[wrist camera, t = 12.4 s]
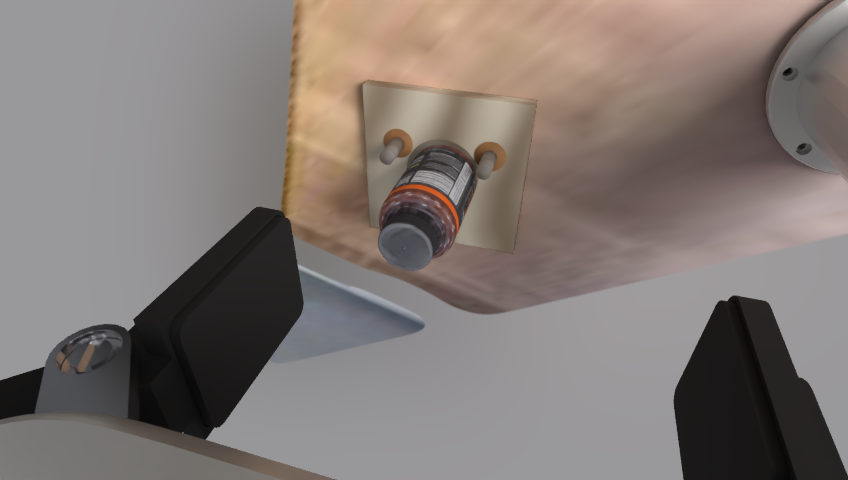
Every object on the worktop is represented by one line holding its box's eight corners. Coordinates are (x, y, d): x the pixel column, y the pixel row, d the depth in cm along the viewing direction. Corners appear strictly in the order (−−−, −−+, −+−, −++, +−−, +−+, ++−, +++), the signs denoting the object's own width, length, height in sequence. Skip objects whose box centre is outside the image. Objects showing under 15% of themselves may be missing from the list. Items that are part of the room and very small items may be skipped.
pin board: (537, 100, 39) (531, 120, 35) (514, 246, 47) (507, 273, 43) (368, 80, 42) (347, 96, 38) (374, 220, 50) (358, 244, 46)
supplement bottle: (458, 216, 45) (422, 296, 36) (401, 182, 45) (351, 255, 36) (492, 166, 41) (461, 242, 32) (430, 128, 41) (382, 196, 32)
